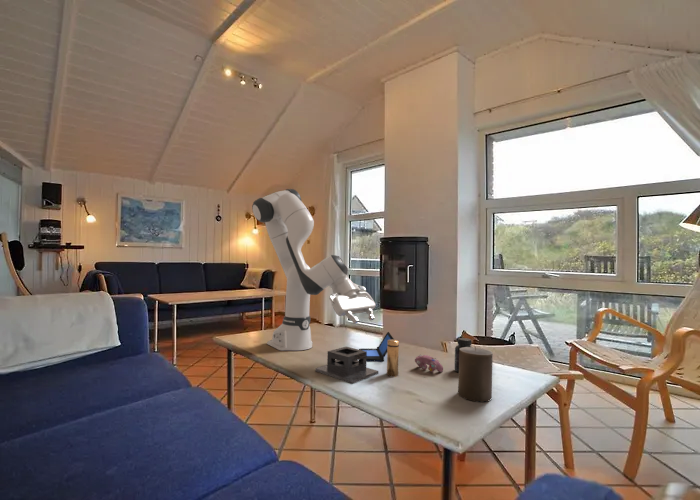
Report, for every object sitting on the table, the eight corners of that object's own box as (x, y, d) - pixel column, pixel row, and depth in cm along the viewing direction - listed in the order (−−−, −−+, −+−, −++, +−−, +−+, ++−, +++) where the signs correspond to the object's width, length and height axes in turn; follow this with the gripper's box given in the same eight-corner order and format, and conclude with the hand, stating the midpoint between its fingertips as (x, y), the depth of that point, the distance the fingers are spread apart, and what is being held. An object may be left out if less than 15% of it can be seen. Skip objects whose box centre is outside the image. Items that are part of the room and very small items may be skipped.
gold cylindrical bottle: (384, 374, 123) (385, 340, 123) (390, 371, 126) (391, 338, 126) (394, 377, 120) (394, 342, 120) (400, 374, 123) (401, 340, 123)
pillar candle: (474, 404, 99) (475, 351, 99) (451, 391, 108) (452, 343, 108) (499, 399, 103) (500, 349, 103) (475, 388, 112) (476, 341, 112)
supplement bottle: (475, 375, 124) (475, 341, 124) (455, 373, 125) (455, 340, 126) (472, 369, 131) (472, 337, 131) (453, 367, 132) (454, 336, 133)
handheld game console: (358, 351, 154) (358, 330, 154) (388, 352, 154) (388, 331, 154) (361, 362, 138) (361, 338, 138) (394, 362, 138) (394, 339, 139)
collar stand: (315, 371, 125) (315, 350, 125) (341, 362, 135) (342, 343, 135) (352, 383, 113) (353, 360, 113) (378, 373, 123) (378, 352, 124)
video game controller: (416, 371, 131) (411, 357, 129) (421, 364, 134) (417, 349, 132) (439, 378, 125) (435, 362, 122) (445, 370, 128) (441, 354, 125)
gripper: (331, 289, 129) (350, 318, 122) (367, 286, 144) (385, 312, 137) (323, 300, 132) (341, 329, 125) (359, 296, 147) (376, 322, 140)
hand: (364, 320), depth 131 cm, fingers open, 8 cm apart
